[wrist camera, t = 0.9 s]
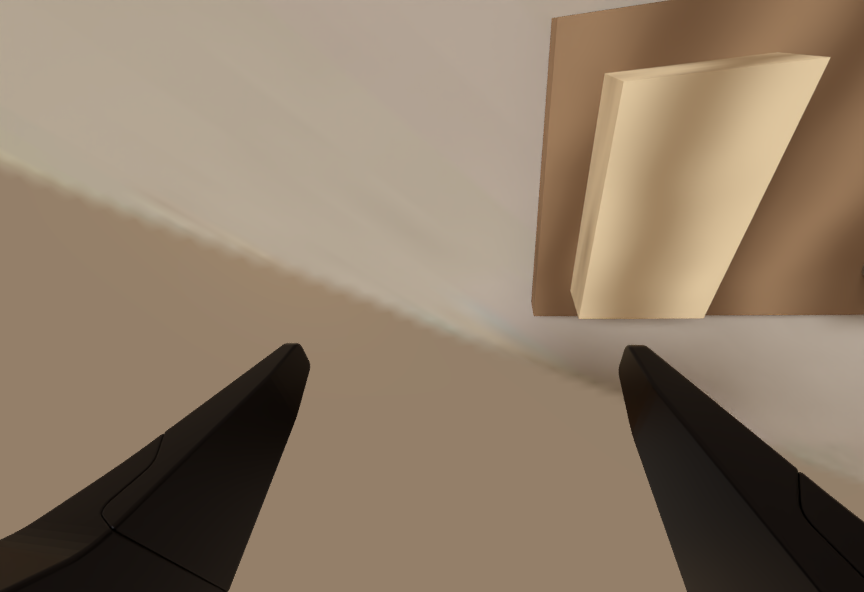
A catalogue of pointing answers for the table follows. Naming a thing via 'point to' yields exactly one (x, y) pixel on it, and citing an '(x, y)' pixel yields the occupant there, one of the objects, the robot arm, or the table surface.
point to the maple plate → (681, 179)
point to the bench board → (792, 181)
